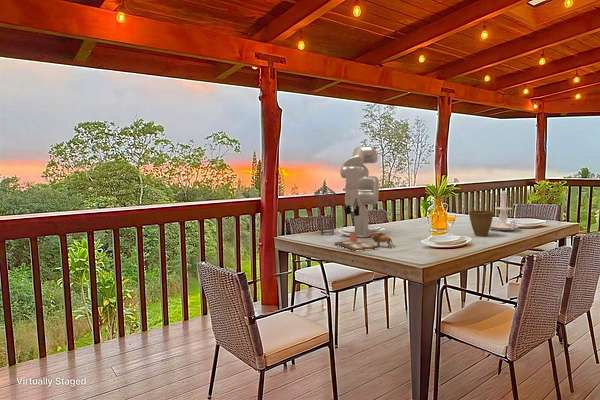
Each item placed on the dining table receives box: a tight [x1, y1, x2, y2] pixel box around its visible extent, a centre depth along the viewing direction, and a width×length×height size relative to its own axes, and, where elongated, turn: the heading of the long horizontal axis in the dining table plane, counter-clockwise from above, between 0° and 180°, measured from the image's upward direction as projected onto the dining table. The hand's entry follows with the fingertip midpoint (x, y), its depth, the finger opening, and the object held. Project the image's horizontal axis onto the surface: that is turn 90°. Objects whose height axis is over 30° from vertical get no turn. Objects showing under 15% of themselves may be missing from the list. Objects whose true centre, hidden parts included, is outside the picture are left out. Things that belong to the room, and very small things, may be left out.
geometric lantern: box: [313, 185, 337, 236], centre depth 293 cm, size 16×16×35 cm
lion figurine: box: [370, 231, 396, 249], centre depth 245 cm, size 15×5×9 cm, turn 66°
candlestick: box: [490, 190, 520, 232], centre depth 285 cm, size 21×25×28 cm
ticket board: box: [334, 240, 379, 252], centre depth 249 cm, size 16×24×2 cm, turn 23°
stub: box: [343, 231, 365, 245], centre depth 251 cm, size 12×5×7 cm, turn 113°
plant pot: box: [468, 210, 494, 237], centre depth 271 cm, size 15×15×16 cm
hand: (352, 214), depth 249 cm, fingers open, 9 cm apart
